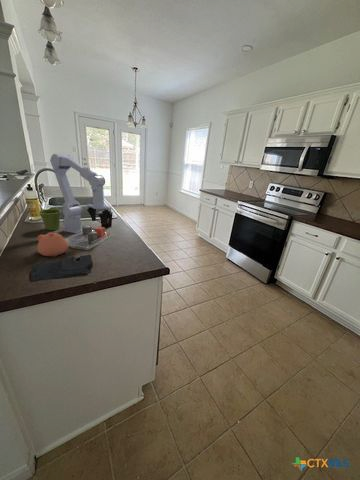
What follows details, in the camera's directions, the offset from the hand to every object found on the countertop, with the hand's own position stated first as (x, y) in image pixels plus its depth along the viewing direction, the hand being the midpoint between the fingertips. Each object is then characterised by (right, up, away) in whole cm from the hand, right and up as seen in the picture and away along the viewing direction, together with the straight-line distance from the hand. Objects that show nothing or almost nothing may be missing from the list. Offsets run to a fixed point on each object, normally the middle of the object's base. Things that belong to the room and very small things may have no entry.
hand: (99, 221), depth 116 cm
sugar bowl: (-15, -17, -20) cm, 30 cm away
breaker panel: (-6, -11, -3) cm, 12 cm away
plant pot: (-33, -4, +10) cm, 35 cm away
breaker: (-9, -6, +3) cm, 11 cm away
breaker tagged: (-2, -10, -5) cm, 12 cm away
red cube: (0, -8, +1) cm, 8 cm away
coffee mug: (-6, -1, +22) cm, 23 cm away
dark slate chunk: (-2, -23, -33) cm, 40 cm away
